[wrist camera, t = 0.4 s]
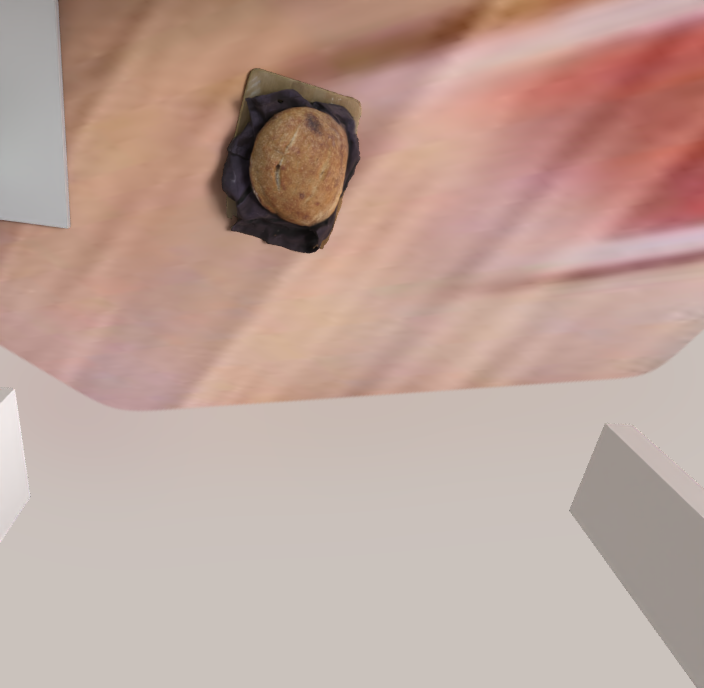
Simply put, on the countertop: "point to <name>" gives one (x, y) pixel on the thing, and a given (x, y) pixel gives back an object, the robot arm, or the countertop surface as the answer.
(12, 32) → the block
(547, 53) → the countertop surface
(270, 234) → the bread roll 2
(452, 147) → the countertop surface
